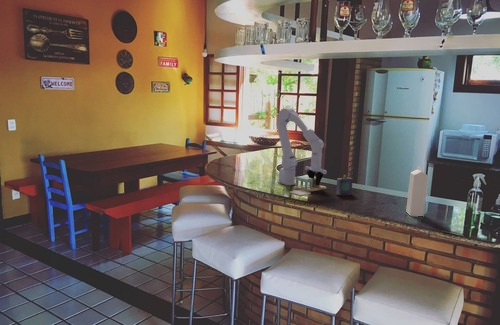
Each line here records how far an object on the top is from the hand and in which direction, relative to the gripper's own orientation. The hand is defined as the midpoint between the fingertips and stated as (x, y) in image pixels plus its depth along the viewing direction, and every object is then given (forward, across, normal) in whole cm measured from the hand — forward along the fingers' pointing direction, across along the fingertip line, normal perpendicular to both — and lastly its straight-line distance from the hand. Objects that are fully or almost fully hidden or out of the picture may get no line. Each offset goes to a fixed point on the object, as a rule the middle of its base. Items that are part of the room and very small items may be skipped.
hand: (314, 184), depth 224 cm
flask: (+2, +19, +2) cm, 19 cm away
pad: (+2, +5, -17) cm, 18 cm away
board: (+2, 0, -4) cm, 4 cm away
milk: (+2, +60, +1) cm, 60 cm away
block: (+2, 0, 0) cm, 2 cm away
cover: (+1, 0, -9) cm, 9 cm away
